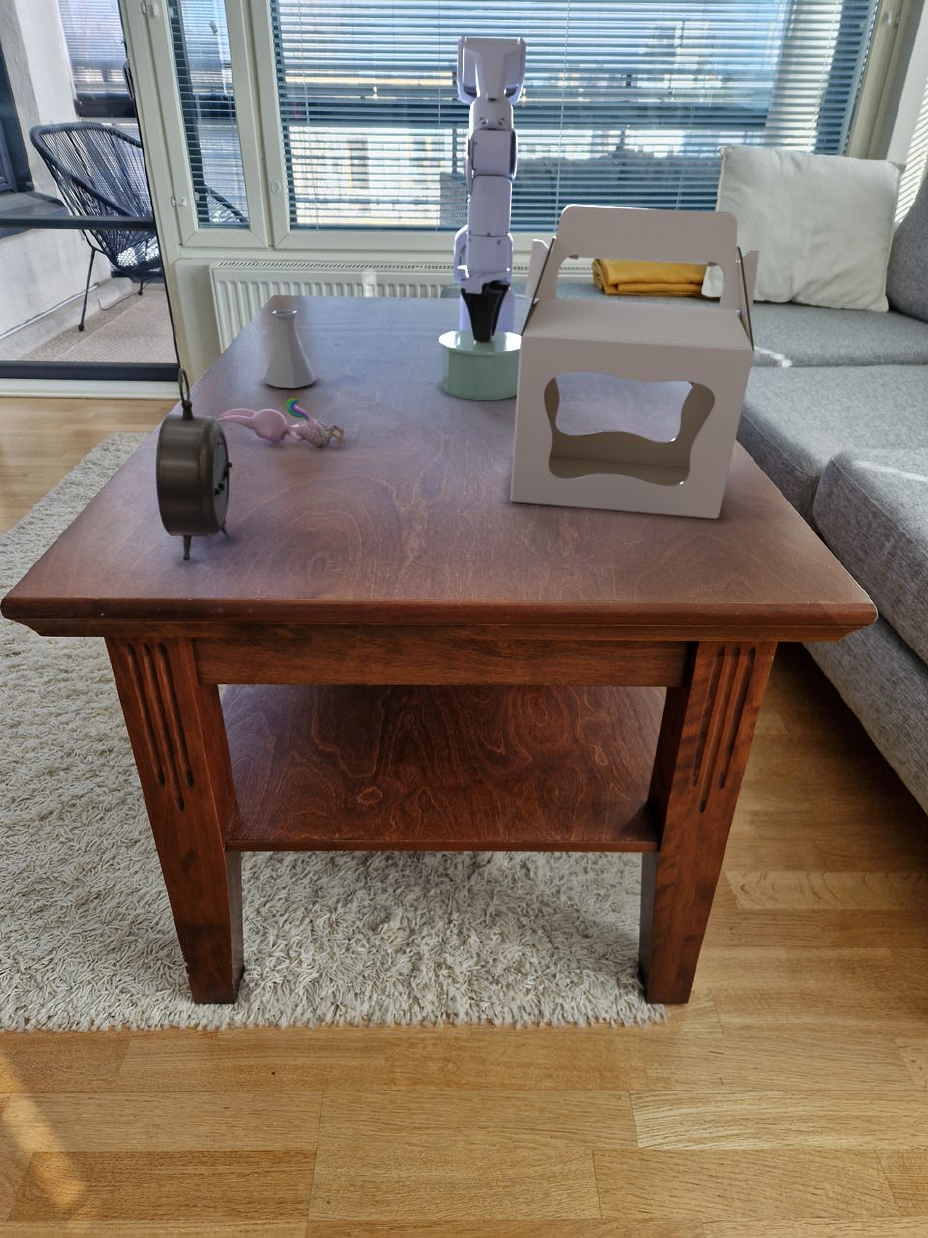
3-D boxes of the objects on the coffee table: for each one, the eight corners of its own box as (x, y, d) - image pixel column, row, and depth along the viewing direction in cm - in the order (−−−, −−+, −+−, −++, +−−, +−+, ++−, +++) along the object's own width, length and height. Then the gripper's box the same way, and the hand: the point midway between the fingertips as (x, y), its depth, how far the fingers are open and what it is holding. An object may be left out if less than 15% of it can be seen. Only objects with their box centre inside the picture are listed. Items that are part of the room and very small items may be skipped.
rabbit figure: (343, 445, 104) (224, 423, 103) (349, 399, 101) (226, 376, 100) (336, 464, 99) (210, 440, 98) (341, 416, 96) (211, 391, 94)
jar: (481, 372, 129) (482, 329, 125) (537, 389, 122) (540, 345, 119) (426, 386, 122) (426, 341, 118) (482, 405, 115) (484, 359, 112)
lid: (482, 332, 126) (483, 301, 124) (544, 349, 119) (547, 317, 116) (421, 346, 119) (421, 313, 116) (483, 365, 111) (485, 330, 109)
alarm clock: (189, 515, 83) (162, 351, 74) (244, 514, 83) (224, 351, 75) (165, 568, 74) (132, 387, 65) (227, 566, 74) (201, 388, 66)
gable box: (707, 471, 97) (759, 206, 82) (720, 520, 86) (784, 223, 70) (518, 457, 99) (535, 196, 84) (507, 502, 88) (525, 211, 73)
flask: (324, 379, 123) (320, 309, 118) (296, 392, 118) (291, 319, 112) (284, 372, 126) (278, 303, 120) (255, 384, 120) (247, 313, 115)
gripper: (473, 225, 117) (470, 323, 125) (444, 238, 106) (442, 346, 113) (521, 228, 116) (515, 328, 123) (497, 242, 104) (492, 351, 111)
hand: (483, 337), depth 118 cm, fingers closed on lid, 2 cm apart
